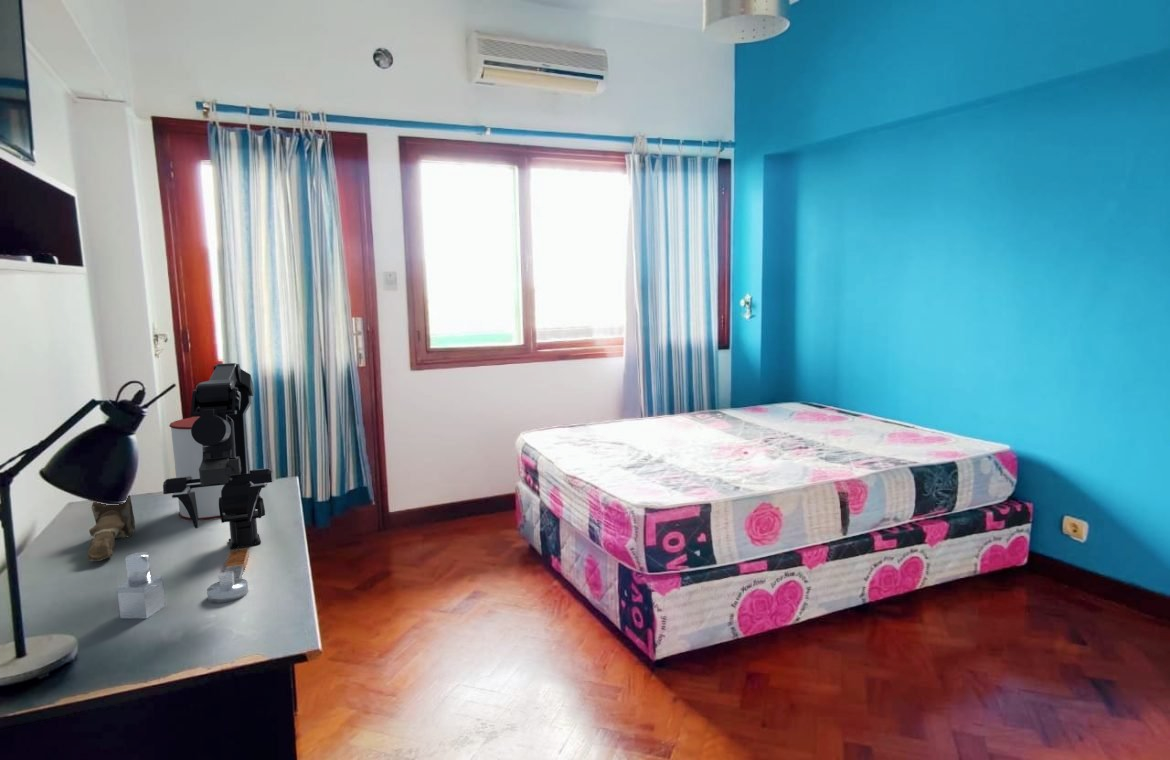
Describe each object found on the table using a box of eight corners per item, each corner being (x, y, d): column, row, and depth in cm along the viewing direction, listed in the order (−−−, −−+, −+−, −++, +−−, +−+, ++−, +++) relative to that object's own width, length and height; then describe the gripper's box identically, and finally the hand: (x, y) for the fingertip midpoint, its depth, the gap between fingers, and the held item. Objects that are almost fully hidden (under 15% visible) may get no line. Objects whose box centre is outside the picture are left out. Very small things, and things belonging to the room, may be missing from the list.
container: (202, 499, 190) (194, 414, 186) (261, 499, 190) (254, 414, 186) (164, 520, 173) (154, 427, 169) (229, 520, 173) (220, 426, 169)
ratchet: (222, 561, 146) (220, 541, 146) (257, 556, 149) (256, 537, 148) (205, 606, 125) (202, 584, 125) (246, 600, 128) (244, 578, 127)
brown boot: (94, 597, 152) (76, 561, 142) (102, 519, 166) (86, 481, 156) (132, 589, 155) (118, 553, 145) (137, 513, 169) (124, 476, 159)
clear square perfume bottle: (140, 605, 126) (133, 550, 124) (165, 605, 126) (159, 550, 124) (120, 618, 121) (113, 561, 119) (146, 618, 121) (140, 561, 119)
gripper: (153, 450, 120) (158, 537, 119) (266, 440, 127) (271, 522, 126) (168, 450, 130) (172, 529, 129) (271, 441, 137) (276, 516, 136)
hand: (223, 524), depth 130 cm, fingers open, 9 cm apart
